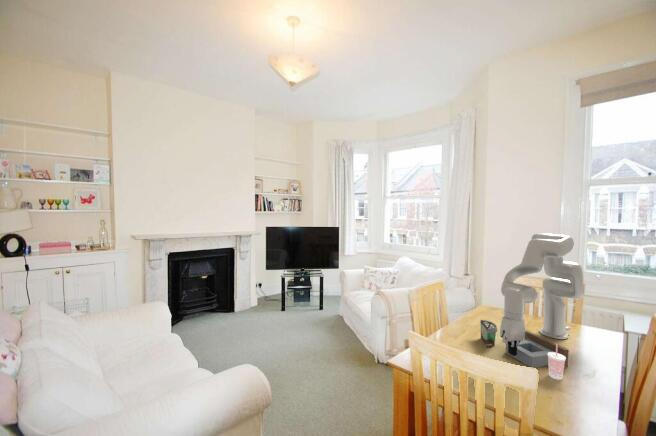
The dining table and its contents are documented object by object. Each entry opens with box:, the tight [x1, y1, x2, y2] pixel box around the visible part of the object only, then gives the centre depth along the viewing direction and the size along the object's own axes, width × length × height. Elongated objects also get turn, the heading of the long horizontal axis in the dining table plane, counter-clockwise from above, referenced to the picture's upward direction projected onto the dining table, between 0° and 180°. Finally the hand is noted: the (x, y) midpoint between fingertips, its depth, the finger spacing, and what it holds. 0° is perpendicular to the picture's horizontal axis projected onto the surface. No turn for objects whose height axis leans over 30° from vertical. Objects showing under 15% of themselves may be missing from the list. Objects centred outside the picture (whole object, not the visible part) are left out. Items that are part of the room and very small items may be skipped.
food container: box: [480, 319, 498, 348], centre depth 151 cm, size 12×6×10 cm, turn 168°
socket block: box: [505, 339, 554, 369], centre depth 136 cm, size 14×14×5 cm
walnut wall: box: [523, 330, 570, 369], centre depth 138 cm, size 2×20×8 cm, turn 14°
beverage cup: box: [547, 343, 566, 381], centre depth 122 cm, size 6×6×14 cm
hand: (512, 354), depth 134 cm, fingers closed
